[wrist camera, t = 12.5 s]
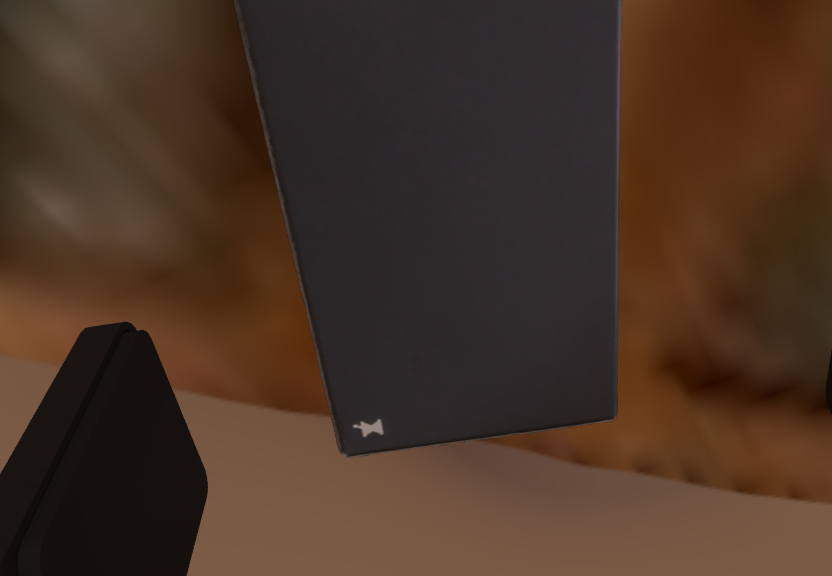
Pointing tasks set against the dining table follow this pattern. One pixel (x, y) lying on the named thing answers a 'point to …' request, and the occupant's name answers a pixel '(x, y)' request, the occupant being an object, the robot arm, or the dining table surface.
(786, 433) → the dining table surface
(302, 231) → the small box
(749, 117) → the dining table surface
